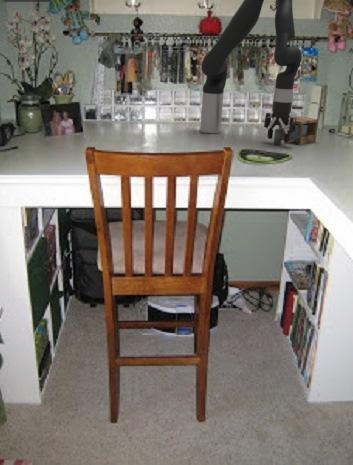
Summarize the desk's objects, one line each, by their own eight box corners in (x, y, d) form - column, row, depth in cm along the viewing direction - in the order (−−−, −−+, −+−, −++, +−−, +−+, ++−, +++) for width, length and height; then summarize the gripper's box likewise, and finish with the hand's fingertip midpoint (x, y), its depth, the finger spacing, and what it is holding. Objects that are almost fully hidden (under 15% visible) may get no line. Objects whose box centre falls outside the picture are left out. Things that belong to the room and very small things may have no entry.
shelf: (293, 136, 210) (296, 115, 207) (315, 141, 203) (318, 119, 199) (277, 139, 203) (279, 117, 200) (298, 144, 196) (301, 121, 192)
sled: (295, 138, 207) (298, 122, 204) (305, 141, 203) (307, 124, 200) (270, 143, 196) (272, 126, 193) (279, 145, 193) (281, 128, 190)
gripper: (303, 102, 186) (297, 142, 192) (274, 97, 195) (270, 136, 202) (291, 103, 181) (285, 145, 188) (262, 98, 191) (258, 138, 197)
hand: (277, 140), depth 195 cm, fingers open, 8 cm apart
